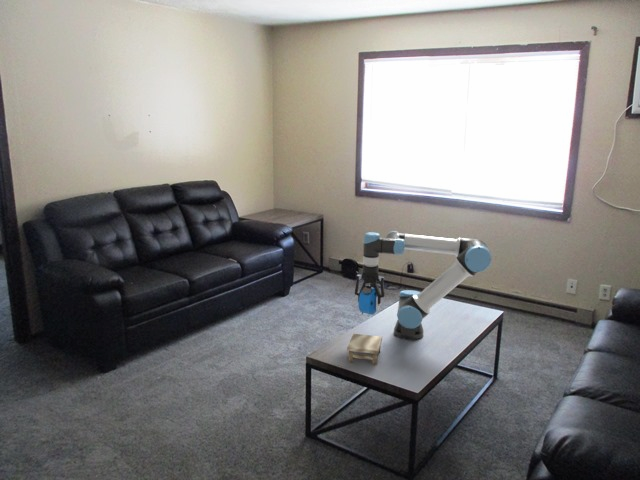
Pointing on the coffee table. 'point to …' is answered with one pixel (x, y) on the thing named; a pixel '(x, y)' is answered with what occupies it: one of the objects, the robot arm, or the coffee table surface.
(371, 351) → the stool
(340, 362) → the coffee table surface
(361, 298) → the alarm clock
